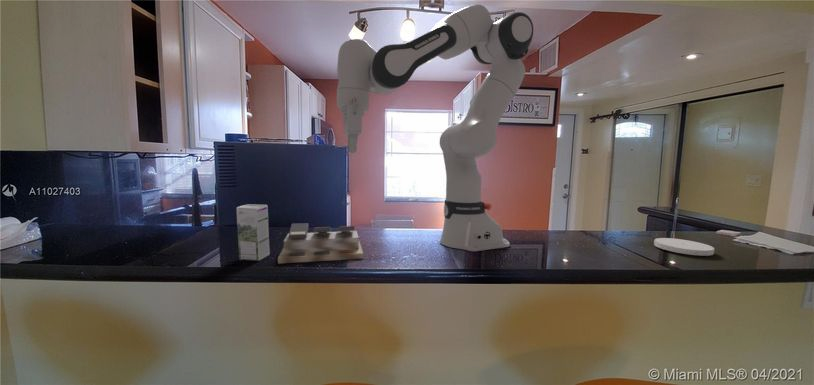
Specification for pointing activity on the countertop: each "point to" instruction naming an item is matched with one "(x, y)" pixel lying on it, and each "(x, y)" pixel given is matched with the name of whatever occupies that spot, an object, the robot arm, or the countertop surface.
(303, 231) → the switch
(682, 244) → the plastic lid
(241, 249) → the syrup box
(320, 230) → the switch middle
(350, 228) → the switch
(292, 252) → the switch unit
